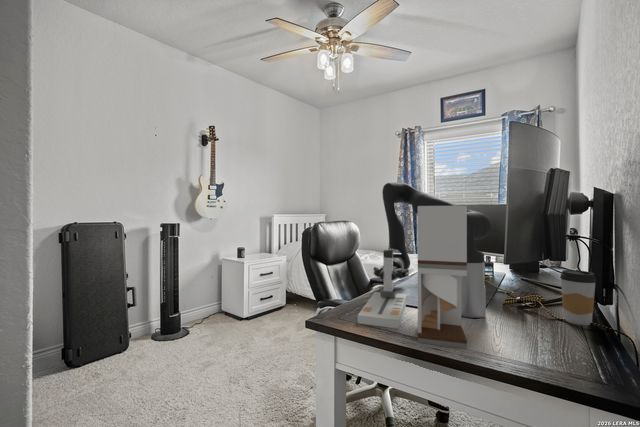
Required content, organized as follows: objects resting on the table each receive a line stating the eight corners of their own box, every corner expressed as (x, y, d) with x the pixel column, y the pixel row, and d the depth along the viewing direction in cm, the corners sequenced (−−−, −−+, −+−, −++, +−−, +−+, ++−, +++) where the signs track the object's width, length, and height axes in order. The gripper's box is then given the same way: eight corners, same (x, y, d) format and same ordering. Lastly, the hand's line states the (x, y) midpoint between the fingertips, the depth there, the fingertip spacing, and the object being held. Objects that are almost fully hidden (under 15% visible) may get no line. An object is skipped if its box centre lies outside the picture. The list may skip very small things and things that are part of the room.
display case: (417, 342, 77) (417, 206, 77) (417, 327, 88) (417, 206, 87) (466, 348, 74) (466, 205, 74) (460, 331, 84) (460, 206, 84)
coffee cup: (596, 321, 91) (596, 272, 91) (596, 329, 85) (596, 276, 85) (561, 315, 97) (561, 268, 97) (558, 322, 91) (558, 272, 91)
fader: (396, 295, 110) (396, 250, 110) (394, 298, 106) (394, 251, 106) (382, 293, 112) (382, 249, 112) (380, 296, 108) (380, 251, 108)
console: (407, 301, 113) (407, 294, 113) (398, 328, 87) (398, 319, 87) (374, 298, 117) (374, 291, 117) (357, 323, 91) (357, 314, 91)
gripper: (376, 258, 125) (367, 265, 109) (411, 259, 120) (407, 267, 104) (376, 276, 125) (367, 285, 109) (411, 278, 120) (408, 289, 104)
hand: (387, 276), depth 106 cm, fingers closed on fader, 3 cm apart
